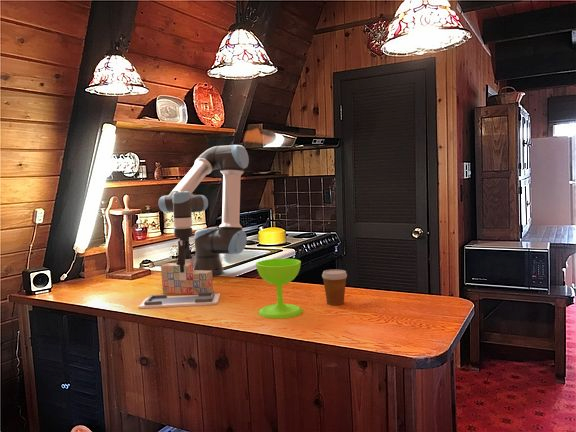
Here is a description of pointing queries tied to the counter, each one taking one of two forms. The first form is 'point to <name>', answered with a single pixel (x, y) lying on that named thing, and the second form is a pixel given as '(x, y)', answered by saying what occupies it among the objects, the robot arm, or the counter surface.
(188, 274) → the stack of blocks
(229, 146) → the robot arm
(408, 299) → the counter surface
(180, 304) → the blueprint board
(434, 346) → the counter surface
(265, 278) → the wineglass
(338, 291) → the disposable coffee cup
